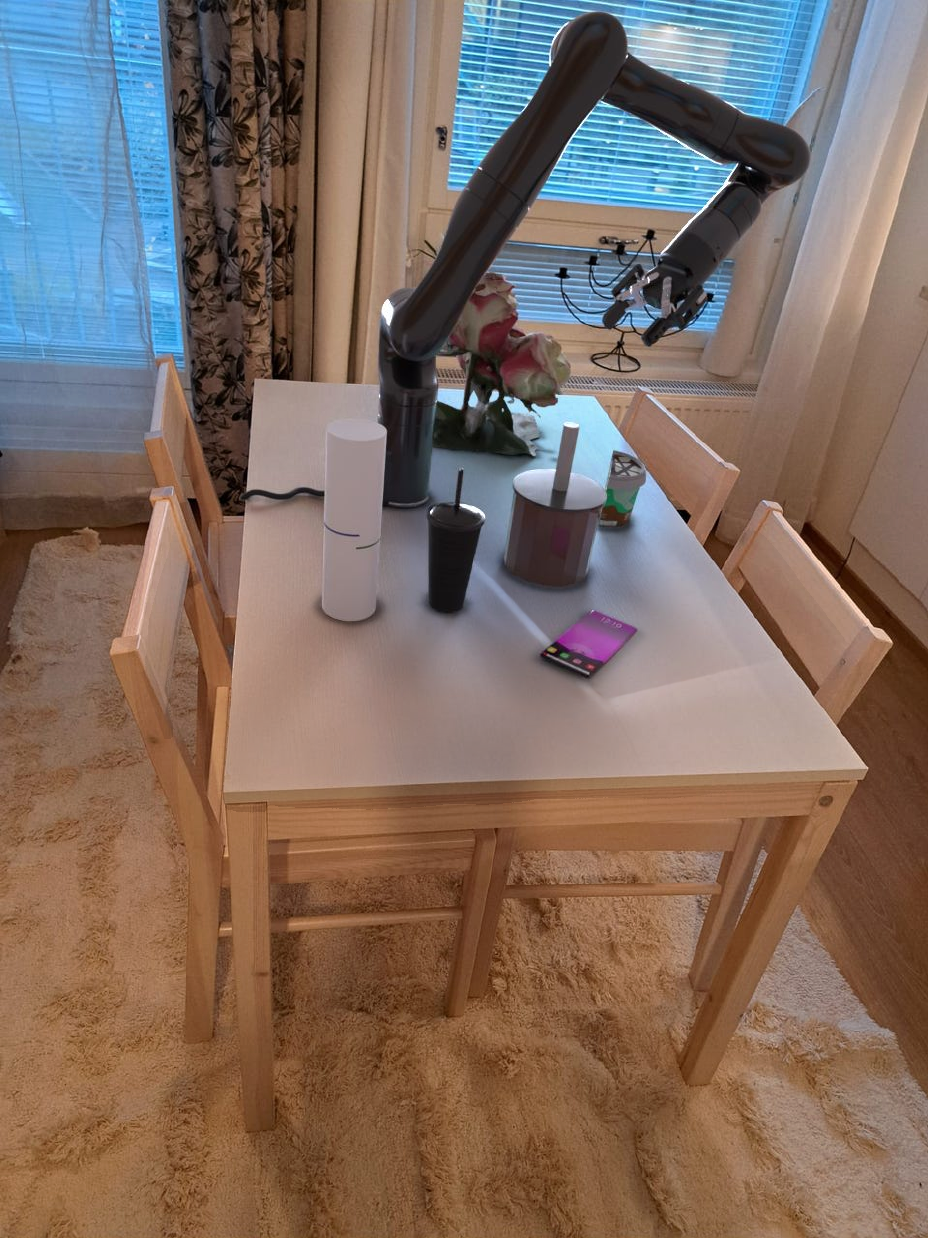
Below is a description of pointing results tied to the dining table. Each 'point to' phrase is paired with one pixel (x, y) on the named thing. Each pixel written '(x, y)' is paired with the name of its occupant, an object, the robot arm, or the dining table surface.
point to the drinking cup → (451, 550)
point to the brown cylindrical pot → (549, 544)
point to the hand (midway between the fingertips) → (624, 333)
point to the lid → (561, 482)
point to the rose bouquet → (499, 374)
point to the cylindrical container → (352, 517)
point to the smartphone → (589, 643)
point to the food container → (621, 489)
